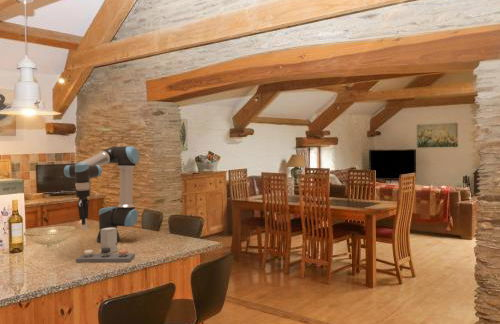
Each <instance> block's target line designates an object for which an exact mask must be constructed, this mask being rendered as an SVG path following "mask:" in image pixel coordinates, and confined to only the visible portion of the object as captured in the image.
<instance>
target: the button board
mask: <svg viewBox="0 0 500 324" xmlns="http://www.w3.org/2000/svg"><path fill="white" fill-rule="evenodd" d="M135 258H136V254H135V252H134V253H133V252H132V253H130V252H129V253H128V254H126V257H121V255H120V254H119V253H109V254H108V257H104V253H93V254H91V257H86V255H84V253H83V254H82V255H79V256H78V257H77V258H76V259H75V263H81V264H82V262H90V263H130V262H131V261H132V260H133V259H135Z"/></svg>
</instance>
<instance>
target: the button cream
mask: <svg viewBox="0 0 500 324" xmlns="http://www.w3.org/2000/svg"><path fill="white" fill-rule="evenodd" d="M83 254H84V255H86V257H91V254H94V250H93V249H85V250H83Z"/></svg>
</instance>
